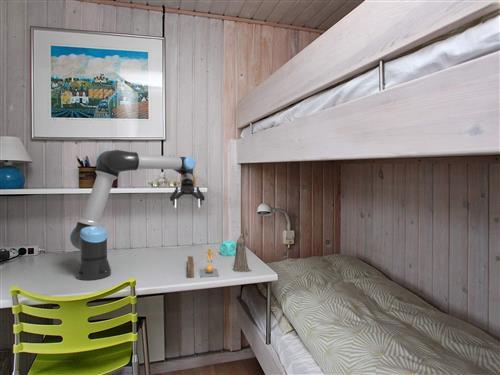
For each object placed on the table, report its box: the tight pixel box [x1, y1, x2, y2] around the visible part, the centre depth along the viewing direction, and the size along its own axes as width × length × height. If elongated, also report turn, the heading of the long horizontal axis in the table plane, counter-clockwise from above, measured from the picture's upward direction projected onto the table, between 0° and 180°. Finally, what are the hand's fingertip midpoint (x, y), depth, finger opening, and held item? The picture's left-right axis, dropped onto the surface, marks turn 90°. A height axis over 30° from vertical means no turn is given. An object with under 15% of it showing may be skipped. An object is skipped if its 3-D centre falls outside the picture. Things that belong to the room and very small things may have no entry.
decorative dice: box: [219, 240, 237, 257], centre depth 203 cm, size 8×8×8 cm
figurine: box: [201, 248, 219, 273], centre depth 166 cm, size 8×6×12 cm
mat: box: [199, 268, 220, 278], centre depth 166 cm, size 9×12×1 cm
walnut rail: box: [187, 255, 195, 279], centre depth 172 cm, size 3×28×4 cm, turn 11°
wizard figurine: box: [232, 222, 252, 273], centre depth 171 cm, size 10×8×25 cm
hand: (187, 208), depth 191 cm, fingers open, 13 cm apart
